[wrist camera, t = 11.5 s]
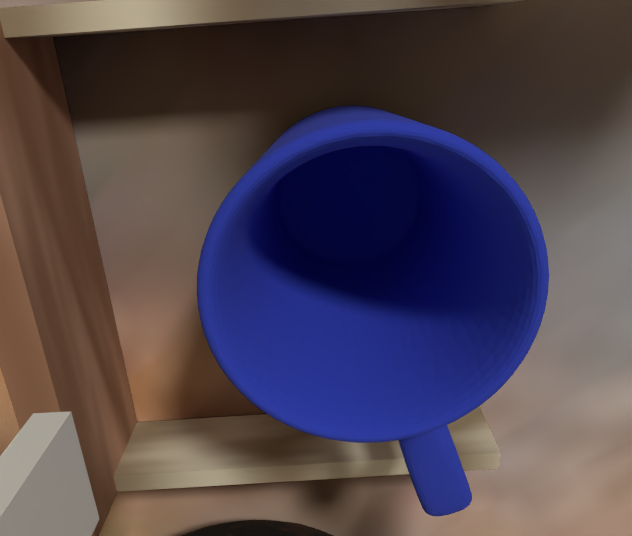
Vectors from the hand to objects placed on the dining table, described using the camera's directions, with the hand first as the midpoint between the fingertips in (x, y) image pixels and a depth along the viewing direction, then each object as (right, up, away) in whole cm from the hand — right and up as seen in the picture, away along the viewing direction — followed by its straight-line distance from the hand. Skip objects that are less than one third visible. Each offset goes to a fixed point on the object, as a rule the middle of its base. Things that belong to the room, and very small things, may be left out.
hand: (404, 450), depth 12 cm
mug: (0, +5, +12) cm, 13 cm away
